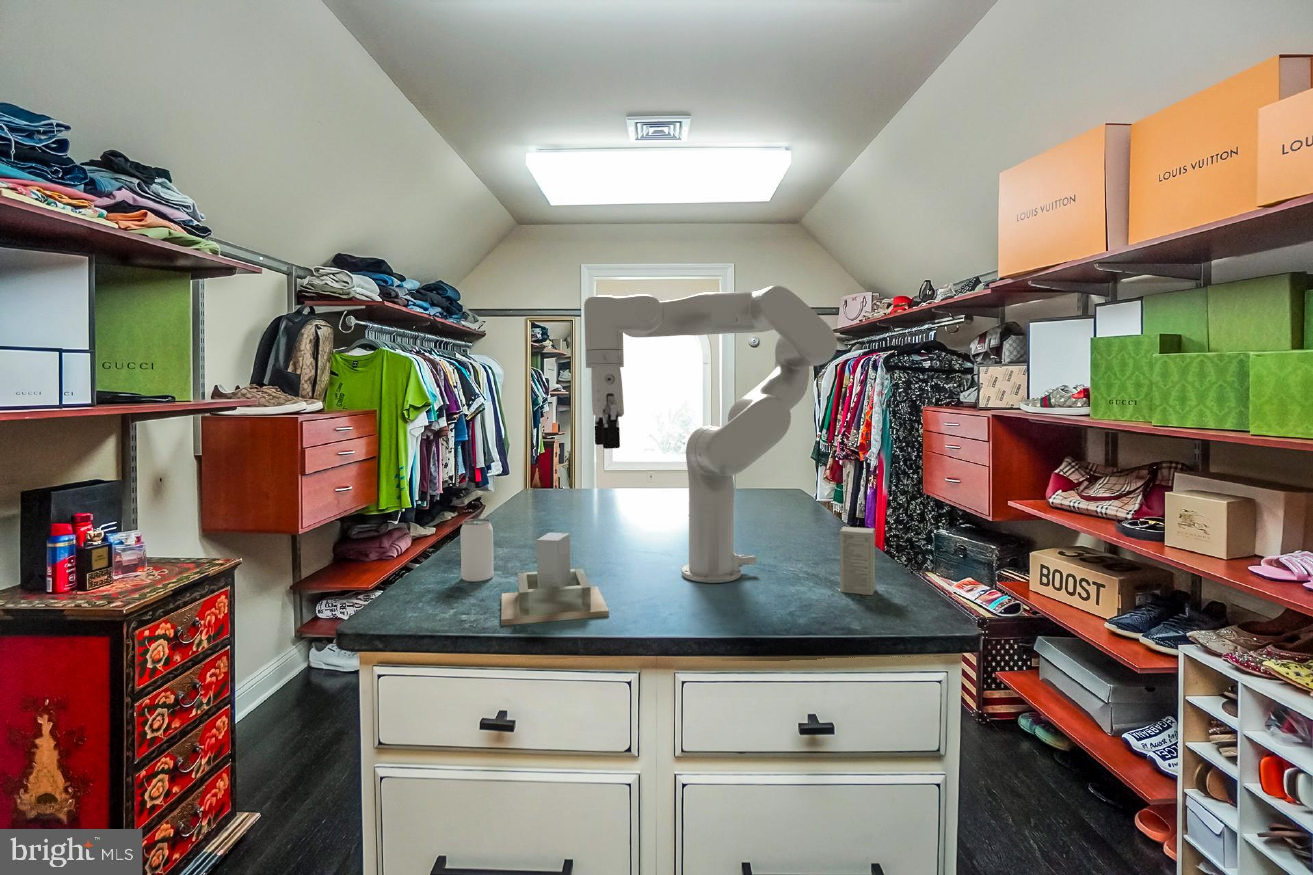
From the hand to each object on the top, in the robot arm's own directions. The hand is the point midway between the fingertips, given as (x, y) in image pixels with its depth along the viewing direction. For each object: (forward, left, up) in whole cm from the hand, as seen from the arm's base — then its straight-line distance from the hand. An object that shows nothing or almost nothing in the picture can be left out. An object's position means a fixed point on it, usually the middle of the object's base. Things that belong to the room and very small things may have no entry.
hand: (607, 446), depth 124 cm
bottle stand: (+12, +12, -28) cm, 32 cm away
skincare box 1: (+12, +12, -27) cm, 32 cm away
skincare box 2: (-46, +17, -28) cm, 57 cm away
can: (+26, -10, -28) cm, 40 cm away
